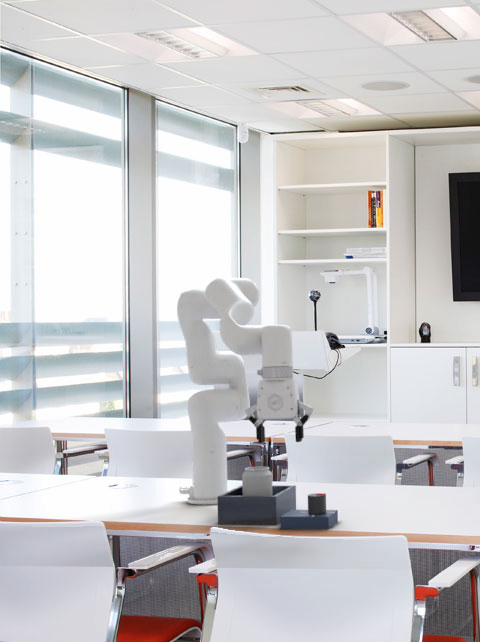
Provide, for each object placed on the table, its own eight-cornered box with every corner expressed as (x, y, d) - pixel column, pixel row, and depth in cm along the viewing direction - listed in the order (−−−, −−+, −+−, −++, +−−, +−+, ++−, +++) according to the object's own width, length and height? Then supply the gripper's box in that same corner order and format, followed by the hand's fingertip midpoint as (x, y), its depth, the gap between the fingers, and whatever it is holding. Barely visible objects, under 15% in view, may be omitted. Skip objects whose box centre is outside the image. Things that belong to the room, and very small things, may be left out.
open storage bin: (217, 524, 247) (217, 496, 247) (241, 511, 264) (240, 485, 264) (276, 524, 245) (275, 496, 245) (296, 511, 262) (295, 485, 262)
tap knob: (305, 514, 242) (305, 495, 241) (310, 511, 246) (310, 492, 246) (323, 514, 241) (323, 495, 241) (328, 511, 245) (327, 492, 245)
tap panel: (280, 529, 240) (279, 515, 240) (291, 521, 249) (290, 509, 249) (329, 529, 239) (329, 516, 239) (339, 521, 248) (338, 509, 247)
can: (278, 512, 257) (277, 465, 256) (263, 517, 250) (262, 469, 249) (253, 510, 259) (252, 464, 259) (237, 516, 252) (236, 468, 252)
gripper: (239, 375, 247) (241, 444, 247) (307, 373, 245) (309, 442, 245) (249, 374, 254) (252, 441, 254) (315, 372, 252) (317, 439, 252)
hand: (280, 442), depth 249 cm, fingers open, 9 cm apart
